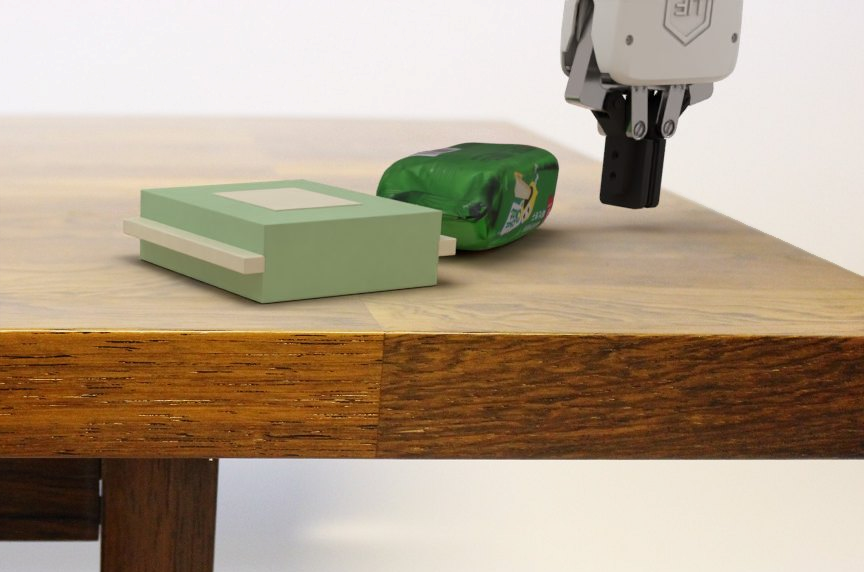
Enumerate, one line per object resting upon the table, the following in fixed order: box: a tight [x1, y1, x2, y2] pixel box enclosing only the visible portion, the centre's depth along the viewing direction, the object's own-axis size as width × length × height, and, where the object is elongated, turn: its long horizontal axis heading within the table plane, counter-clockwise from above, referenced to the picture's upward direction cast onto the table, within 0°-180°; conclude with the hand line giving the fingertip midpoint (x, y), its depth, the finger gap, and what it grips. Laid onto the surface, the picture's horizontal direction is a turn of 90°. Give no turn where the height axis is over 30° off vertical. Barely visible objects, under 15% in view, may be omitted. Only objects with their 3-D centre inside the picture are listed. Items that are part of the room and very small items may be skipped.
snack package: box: [375, 141, 560, 251], centre depth 82 cm, size 7×16×5 cm, turn 149°
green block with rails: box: [122, 178, 457, 304], centre depth 74 cm, size 12×12×4 cm
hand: (628, 204), depth 88 cm, fingers closed
